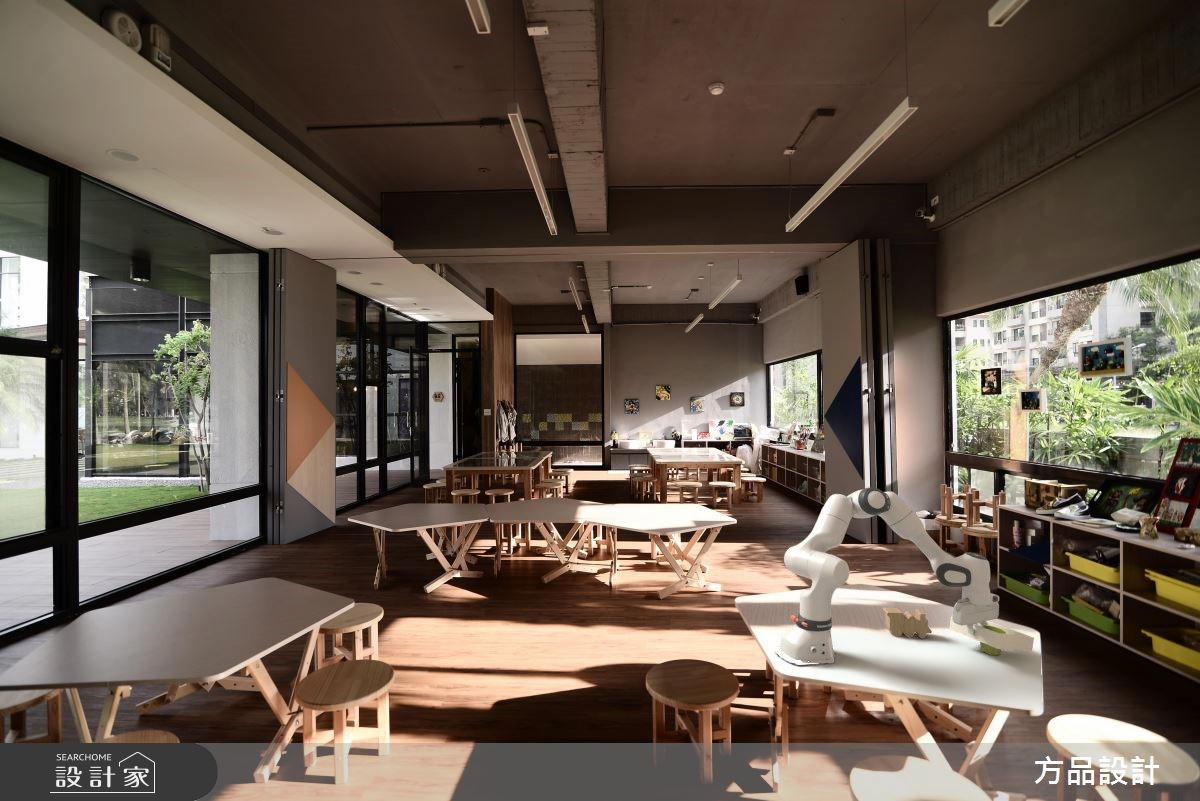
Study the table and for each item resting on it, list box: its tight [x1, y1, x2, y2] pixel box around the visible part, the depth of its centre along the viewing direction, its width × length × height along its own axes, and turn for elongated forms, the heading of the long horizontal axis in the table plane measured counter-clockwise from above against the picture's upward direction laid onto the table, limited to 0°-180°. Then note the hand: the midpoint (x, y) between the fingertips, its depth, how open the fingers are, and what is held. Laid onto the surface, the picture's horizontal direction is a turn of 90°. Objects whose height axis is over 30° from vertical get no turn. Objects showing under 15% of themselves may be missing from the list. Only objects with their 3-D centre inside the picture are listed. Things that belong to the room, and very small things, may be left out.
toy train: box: [882, 606, 933, 639], centre depth 235 cm, size 6×17×10 cm, turn 81°
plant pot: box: [979, 625, 1006, 656], centre depth 219 cm, size 9×9×9 cm
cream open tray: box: [948, 615, 1035, 652], centre depth 219 cm, size 19×19×5 cm
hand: (975, 633), depth 216 cm, fingers closed on cream open tray, 2 cm apart
